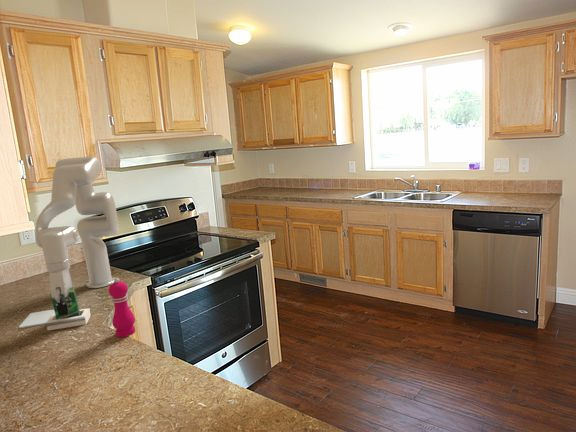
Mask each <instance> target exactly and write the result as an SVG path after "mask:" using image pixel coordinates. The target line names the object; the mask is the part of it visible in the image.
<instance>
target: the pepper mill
mask: <svg viewBox="0 0 576 432" xmlns="http://www.w3.org/2000/svg"><path fill="white" fill-rule="evenodd" d="M128 291H129V287H128V285H127V283H125V282H124V281H120V278H118V277H115V279H114V283H113V284H111V285H109V287H108V293H109V295H110V296H111V302H112V303H113V304H114V312H113V317H112V327H113V328H115V336H117V338H126V337H130V336H132V335H134V333H136V326H135V325H134V324H135V323H136V317H135V315H134V313H133V312H132V310H131V309H130V306H129V305H128V299H129V297H128Z"/></svg>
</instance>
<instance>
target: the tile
mask: <svg viewBox="0 0 576 432" xmlns="http://www.w3.org/2000/svg"><path fill="white" fill-rule="evenodd" d="M52 314H55V311H54V309H47V310H42V311H35V312H31V313H29V315H27V316H26V318H25V319H24V320H23V321H22V322H21V323H20V325H19V326H18V329H20V330H21V329H26V328H32V327H38V326H44V325H45V324H46V322H47V321H48V320H49V318H50V317H51V315H52Z"/></svg>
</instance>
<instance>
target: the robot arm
mask: <svg viewBox="0 0 576 432" xmlns="http://www.w3.org/2000/svg"><path fill="white" fill-rule="evenodd" d="M54 166H55V169H54V170H53V174H52V185H51V186H52V187H51V197H50V201H49V203H47V205H46V206H45V207H44V208H43V209H42V210H41V212H40V213H39V215H38V217H37V219H36V223H35V232H34V234H35V235H34V237H35V243H36V245H37V247H39V248H40V249H42V252H43V256H44V257H43V258H44V262H45V266H46V271H47V273H49V275H48V277H49V287H50V294H52V298H53V299H55V300H56V301H55V302H56V306H57V310H58V315H59V316H61V315H67V314H68V308H67V303H66V304H65V300H66V297H67V296H68V295H69V289H70V288H71V287H73V281H72V277H71V273H70V268H71V263H70V258H69V252H68V248H69V247H70V246H71V247H72V246H73V245H76V244H77V243H78V241H79V239H80V240H81V241H80V242H81V244H82V249H83V253H84V254H83V255H84V260H85V264H86V270H87V274H88V275H87V276H88V280H89V281H88V282H87V283H86V288H88V289H99V288H104V287H108V286H110V285H111V284H113V283H115V282H114V279H115V278H116V277H114V276H112V272H111V265H110V260H109V255H108V248H107V245H106V243H105V242H104V241H103V240H102V237H103V238H104V237H105V238H106V237H112V236H116V235H118V234H119V232H120V222H119V217H118V211H117V206H116V203H115V199H114V197H113V195H112V194H111V193H110V192H108V191H107V192H105V191H102V192H96V191H94V189H95V188H94V187H93V183H94V182H95V180H97V178H98V177H99V175H100V174H101V170H102V164H101V162H100V159H98V158H97V157H96V156H92V155H91V156H82V157H81V156H80V157H79V156H78V157H68V158H62V159H59V160H57V161H56V163H55V165H54ZM74 207H75V208H76V210H77V214H79V215H81V216H87V217H84V218H81V219H79V221H78V222H77V224H76V227H75V226H71V225H65V226H56V227H55V226H54V227H49V225H50V223H51V222H52V221H53V220H54V218H56V217H58V216H59V215H61V214H63V213H65V212H66V211H68V210H70V209H72V208H74ZM100 214H101V215H100ZM90 215H95V216H90ZM96 215H98V216H96ZM99 215H100V216H99ZM61 295H63V296H61ZM62 298H63V301H62Z"/></svg>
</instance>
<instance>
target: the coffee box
mask: <svg viewBox="0 0 576 432" xmlns="http://www.w3.org/2000/svg"><path fill="white" fill-rule="evenodd" d="M61 296H63V295H61ZM50 299H51V302H52V307H53V310H54V311H55V315H56V320H58V319H64V318H70V317H76V316H81V315H80V307H79V302H78V298H77V294H76V287H75V286H72V287H71V288H70V289H69V295H68V296H67V297H66V300H65V304H66V303H67V308H68V314H67V315H61V316H59V315H58V310H57V306H56V302H55V301H56V300H55V299H53V298H52V294H51V293H50ZM62 301H63V298H62Z"/></svg>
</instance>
